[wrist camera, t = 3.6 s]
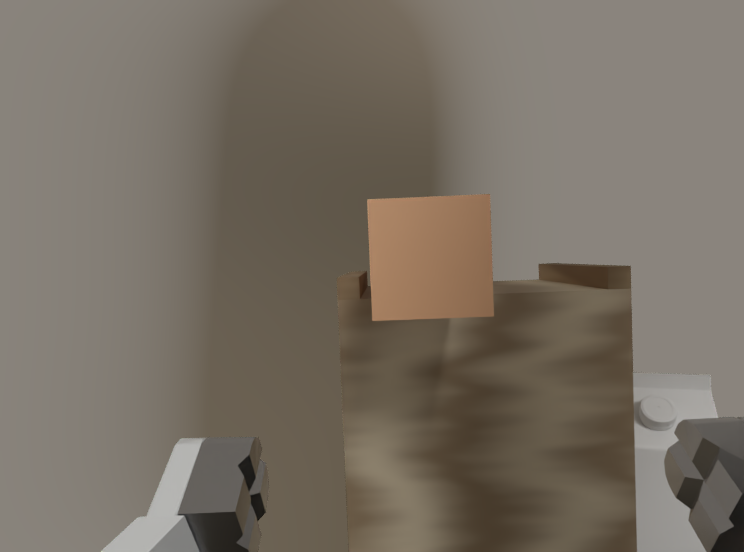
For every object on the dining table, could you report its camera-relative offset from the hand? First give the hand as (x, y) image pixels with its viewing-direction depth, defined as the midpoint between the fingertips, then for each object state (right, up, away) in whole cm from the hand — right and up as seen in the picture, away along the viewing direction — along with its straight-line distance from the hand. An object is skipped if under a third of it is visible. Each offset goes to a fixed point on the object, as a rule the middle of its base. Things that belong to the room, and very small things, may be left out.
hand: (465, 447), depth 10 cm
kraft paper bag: (+4, -23, +18) cm, 30 cm away
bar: (0, +3, +16) cm, 16 cm away
